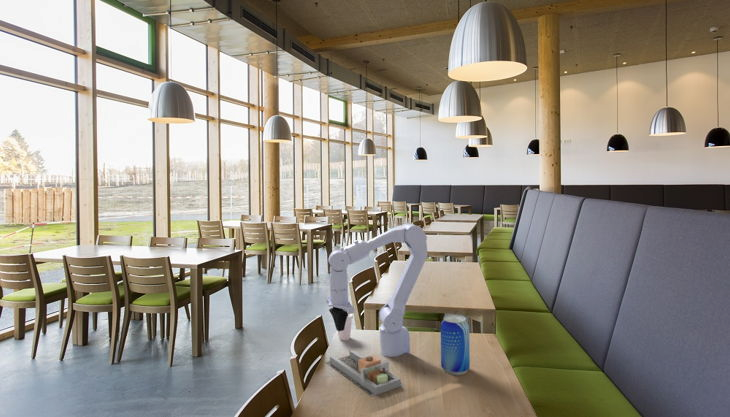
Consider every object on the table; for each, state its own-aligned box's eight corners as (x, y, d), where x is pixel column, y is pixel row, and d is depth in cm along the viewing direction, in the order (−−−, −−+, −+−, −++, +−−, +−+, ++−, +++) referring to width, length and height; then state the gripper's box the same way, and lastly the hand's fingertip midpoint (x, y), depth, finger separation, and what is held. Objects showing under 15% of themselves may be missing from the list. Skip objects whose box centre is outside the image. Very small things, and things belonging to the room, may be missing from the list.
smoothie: (351, 345, 153) (350, 306, 152) (333, 344, 154) (332, 305, 153) (355, 338, 159) (354, 301, 158) (338, 337, 160) (337, 300, 159)
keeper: (373, 373, 128) (372, 353, 128) (386, 381, 123) (385, 360, 122) (358, 377, 125) (358, 357, 125) (371, 386, 120) (370, 365, 120)
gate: (386, 380, 126) (386, 360, 126) (389, 382, 125) (388, 362, 124) (360, 389, 121) (360, 368, 121) (363, 391, 120) (363, 370, 120)
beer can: (474, 369, 132) (474, 317, 131) (460, 379, 126) (459, 325, 124) (450, 361, 137) (450, 312, 136) (435, 371, 131) (435, 319, 130)
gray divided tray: (354, 357, 142) (354, 348, 142) (404, 388, 121) (404, 377, 121) (324, 366, 136) (324, 356, 136) (371, 401, 115) (371, 389, 115)
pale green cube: (383, 382, 122) (383, 372, 122) (389, 386, 120) (389, 376, 120) (374, 385, 121) (374, 375, 120) (381, 390, 118) (380, 379, 118)
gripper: (317, 286, 143) (318, 326, 144) (339, 295, 131) (340, 339, 132) (336, 282, 147) (337, 322, 148) (359, 291, 135) (360, 334, 136)
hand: (340, 330), depth 140 cm, fingers closed
